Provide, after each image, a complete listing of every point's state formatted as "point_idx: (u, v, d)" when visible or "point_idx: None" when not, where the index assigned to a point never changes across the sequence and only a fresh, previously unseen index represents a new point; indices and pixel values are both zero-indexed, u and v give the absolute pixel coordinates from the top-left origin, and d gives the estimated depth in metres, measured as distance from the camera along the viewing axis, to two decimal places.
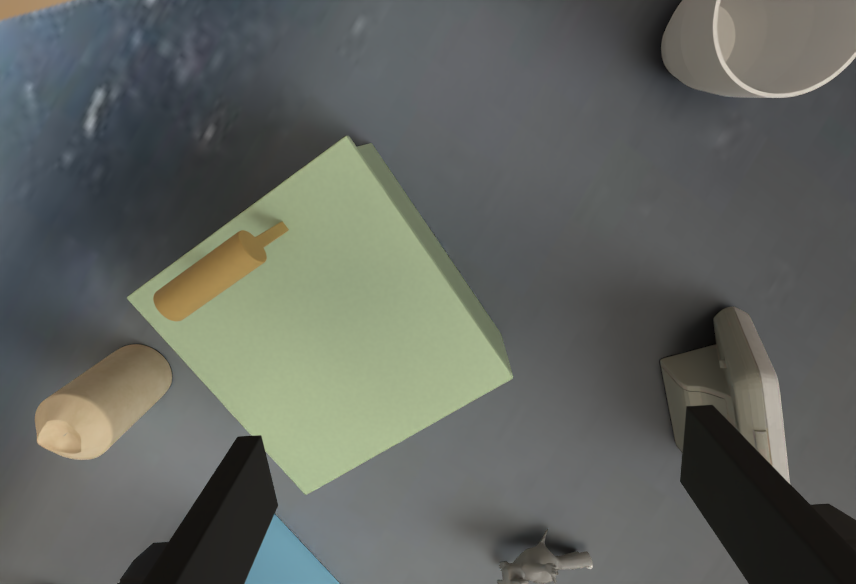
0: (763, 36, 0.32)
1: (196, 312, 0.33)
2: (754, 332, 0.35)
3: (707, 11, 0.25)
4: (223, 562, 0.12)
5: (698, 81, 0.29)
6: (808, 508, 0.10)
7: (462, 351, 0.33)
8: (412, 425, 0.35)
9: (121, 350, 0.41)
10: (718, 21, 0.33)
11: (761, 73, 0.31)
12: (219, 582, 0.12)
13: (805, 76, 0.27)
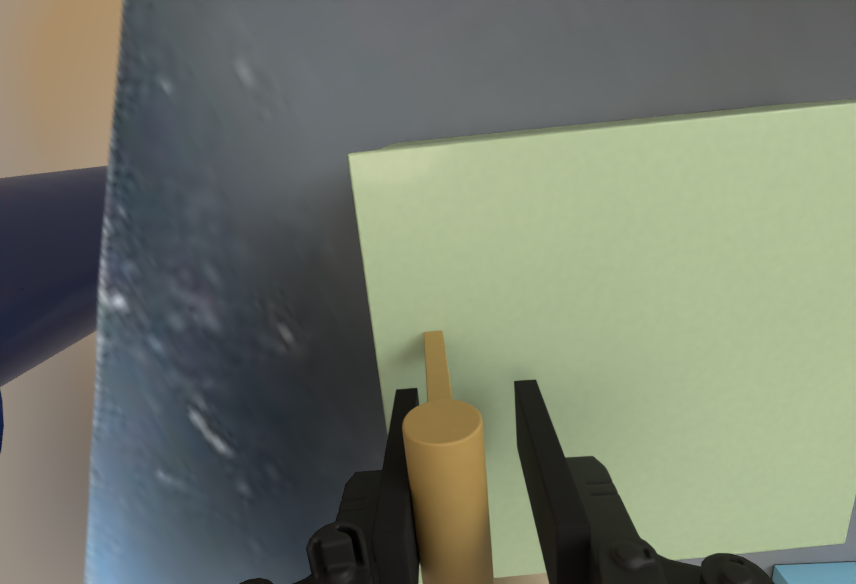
0: None
1: None
2: None
3: None
4: None
5: None
6: (560, 456, 0.13)
7: (823, 163, 0.16)
8: None
9: None
10: None
11: None
12: None
13: None
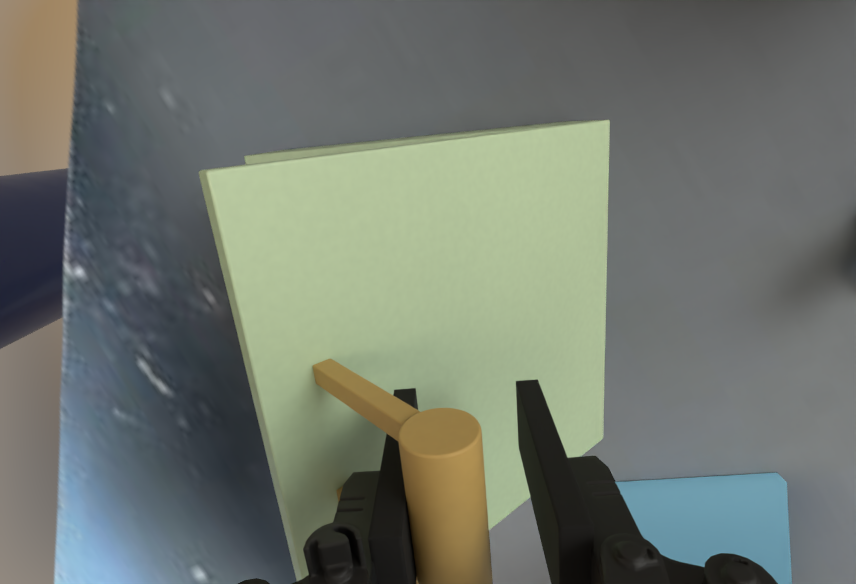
0: None
1: None
2: None
3: None
4: None
5: None
6: (562, 456, 0.13)
7: (566, 167, 0.23)
8: (599, 278, 0.26)
9: None
10: None
11: None
12: None
13: None
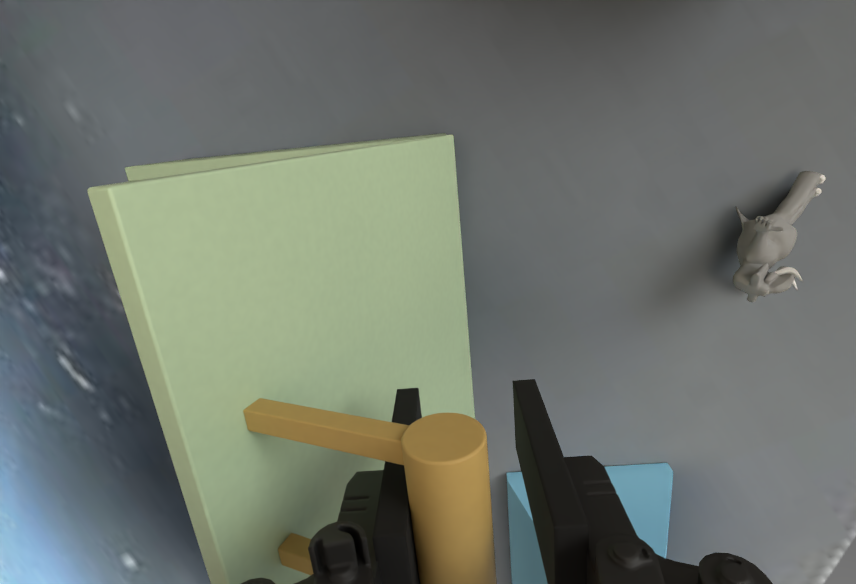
0: None
1: None
2: None
3: None
4: None
5: None
6: (559, 456, 0.13)
7: (429, 178, 0.24)
8: (460, 280, 0.29)
9: None
10: None
11: None
12: None
13: None
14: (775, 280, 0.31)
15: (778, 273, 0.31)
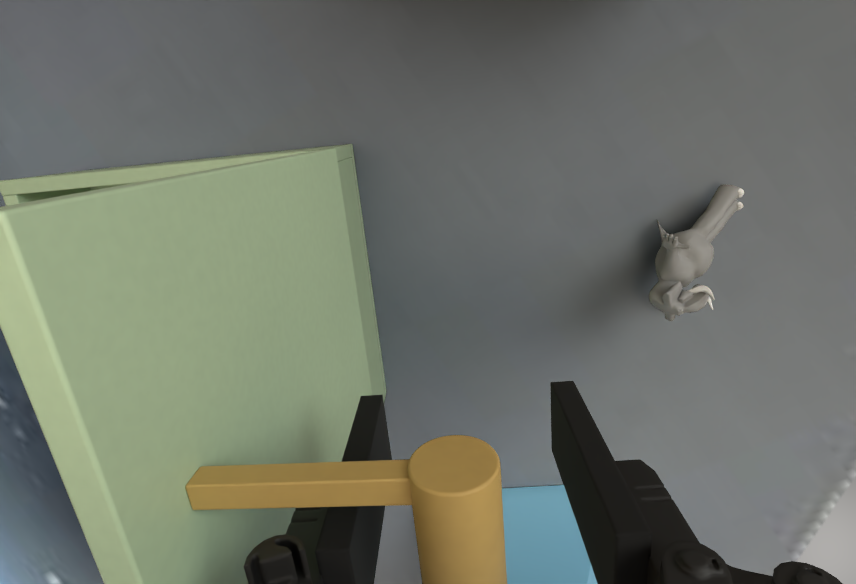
0: None
1: None
2: None
3: None
4: None
5: None
6: (610, 460, 0.13)
7: (322, 193, 0.23)
8: (355, 298, 0.27)
9: None
10: None
11: None
12: (373, 514, 0.14)
13: None
14: (689, 299, 0.30)
15: (692, 292, 0.30)
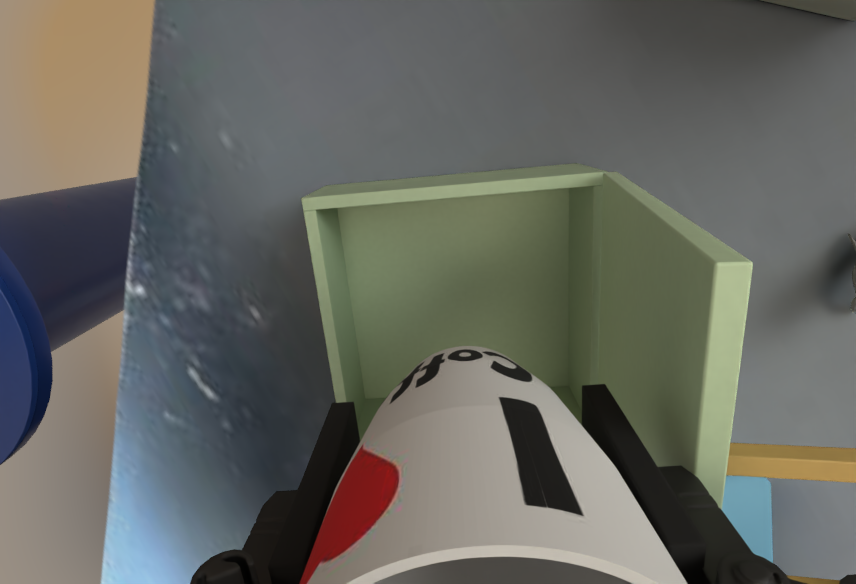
0: None
1: None
2: None
3: None
4: None
5: None
6: (653, 466, 0.12)
7: None
8: None
9: None
10: None
11: None
12: None
13: None
14: None
15: None
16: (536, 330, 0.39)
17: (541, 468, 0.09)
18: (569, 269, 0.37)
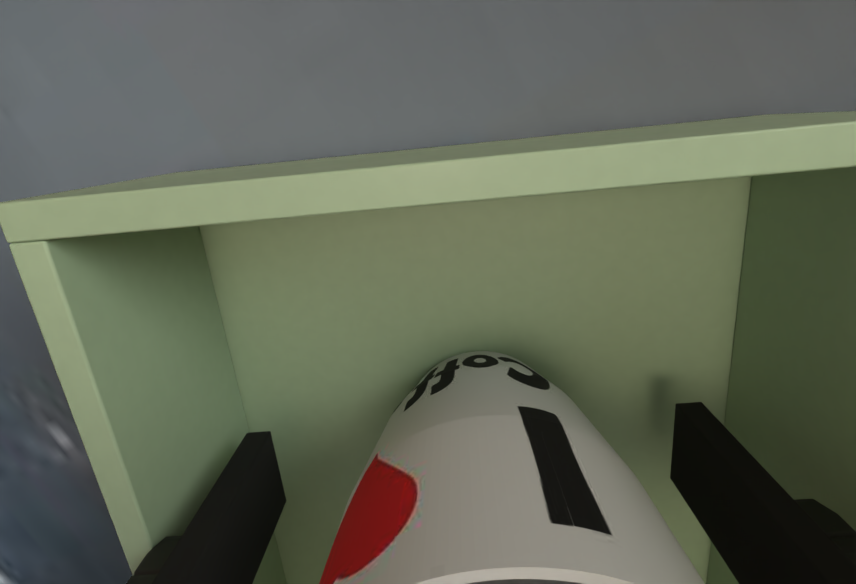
0: None
1: None
2: None
3: None
4: (235, 555, 0.12)
5: None
6: (791, 502, 0.11)
7: None
8: None
9: None
10: None
11: None
12: (231, 575, 0.12)
13: None
14: None
15: None
16: (646, 483, 0.18)
17: (566, 483, 0.09)
18: (735, 360, 0.16)
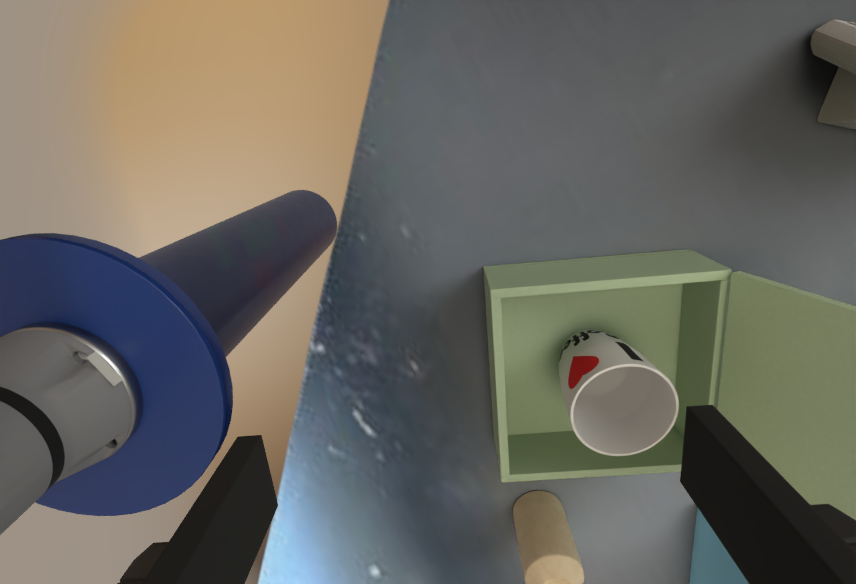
0: None
1: None
2: None
3: None
4: (223, 562, 0.12)
5: None
6: (808, 508, 0.10)
7: None
8: None
9: (516, 512, 0.52)
10: None
11: None
12: (219, 582, 0.12)
13: (663, 391, 0.39)
14: None
15: None
16: None
17: (632, 354, 0.38)
18: (680, 332, 0.46)
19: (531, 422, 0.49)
